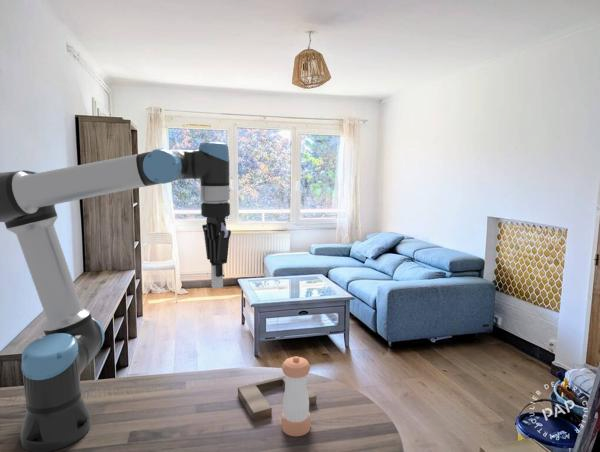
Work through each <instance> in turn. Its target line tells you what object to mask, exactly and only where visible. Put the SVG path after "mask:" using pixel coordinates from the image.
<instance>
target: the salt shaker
mask: <svg viewBox="0 0 600 452" xmlns="http://www.w3.org/2000/svg"><path fill="white" fill-rule="evenodd" d="M281 370H282V373H283V374H284V376H285V389H284V393H283V397H282V398H283V399H282V413H281V431H283V432H284V434H286V435H288V436H290V437H302V436H304V435H306V434H308V433H309V431H310V429H311V412H310V406H309V397H308V391H307V386H308V374H309V373H310V370H311V365H310V362H309V361H308V360H307V359H306V358H304V357H301V356H292V357H288V358H286V359H285V360H284V361H283V363H282V365H281Z"/></svg>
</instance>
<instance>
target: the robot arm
mask: <svg viewBox="0 0 600 452" xmlns="http://www.w3.org/2000/svg"><path fill="white" fill-rule="evenodd" d="M229 154H230V153H229V146H228V144H227V143H225V142H212V141H211V142H200V143H199V147H198V149H168V148H163V147H162V148H157V149H153V150H151V151H147V152H142V153H135V154H130V155H125V156H120V157H115V158H110V159H104V160H100V161H94V162H89V163H83V164H79V165H73V166H68V167H63V168H58V169H57V168H56V169H52V170H47V171H41V172H37V171H33V170H32V171H30V170H25V169H24V170H17V171H5V172H0V223H4V226H5V228H6V230H7V231H9V232H11V233H13V234H15V235H16V238H17V240H18V243H19V246H20V248H21V251H22V254H23V256H24V259H25V262H26V265H27V268H28V270H29V273H30V275H31V276H30V277H31V279H32V282H33V285H34V287H35V290H36V293H37V296H38V298H39V299H38V300H39V301H40V304H41V307H42V310H43V312H44V315H45V318H46V321H45V323H44V325H43V327H42V329H43V333H44V334H45V335H44V336H42V337H41V338H36V339H35V340H33V341H31V342H30V343H29V344H27V346H25V348H24V349H23V351H22V354H21V363H20V365H21V366H20V367H21V368H20V369H21V373H22V380H23V389H24V398H25V405H26V412H25V415H24V420H23V422H22V426H21V429H20V444H21V447H23V449H24V450H26V451H28V452H54V451H57V450H60V449H63V448H65V447H69V446H70V445H73V444H75V443H76V442H78V441H79V440H81V439H82V438H83V437H84V436H85V435H87V433H88V432H89V431H90V429H91V427H92V415H91V412H90V410H89V408H88V407H87V404H86V403H85V400H84V398H83V396H82V390H81V389H82V387H81V374H82V372H83V371H84V370H85V369H86V368H87V366H88V365H90V364H91V361H92V360H93V359H94V358H96V356H97V355H99V353H100V351H101V350H102V349H101V348H102V347H103V344H104V341H105V331H104V328H103V325H102V324H101V323H100V322H99V321H98V320H97V319H95V318H94V317H93V316H92V313H91V312H90V310H88V309H86V308H83V307H82V304H81V301H80V298H79V296H78V293H77V292H78V291H77V290H76V287H75V283H74V280H73V277H72V275H71V272H70V269H69V266H68V263H67V260H66V257H65V255H64V251H63V248H62V246H61V243H60V239H59V236H58V233H57V231H56V228H55V222H56V221H57V219H58V218H59V217H58V213H57V210H56V207H55V206H56V205H57V204H64V203H68V202H72V201H78V200H85V199H88V198H93V197H94V198H95V197H98V196H102V195H103V196H105V195H107V194H114V193H120V192H124V191H129V190H133V189H138V188H145V187H148V186H149V187H150V186H154V185H155V186H156V185H161V184H162V185H163V184H164V185H165V184H169V183H172V182H174V181H177V180H192V179H193V180H197V179H198V180H200V186H199V187H200V200H201V201H202V202H201V204H200V214H201V216H202V217H203V218H206V219H205V220H206V223H205V224H202V226H201V228H202V230H203V236H204V237H203V238H204V244H205V250H206V260H209V263H210V265H211V266H210V271H211V274H210V277H211V288H213V289H218V288H224V273H223V272H224V269H223V266H224V265H225V264H227V262H228V255H229V246H230V245H229V244H230V238H231V235H232V234H231V233H232V231H231V230H230V229H227V222H226V218H228V217H229V216H230V215H231V203H230V202H229V200H231V199H230V192H231V188H230V155H229Z"/></svg>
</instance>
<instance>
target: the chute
mask: <svg viewBox="0 0 600 452" xmlns="http://www.w3.org/2000/svg"><path fill="white" fill-rule="evenodd" d="M278 388H282V389H284V390H285V375H283V376H279V377H276V378H275V377H274V378H271V379H268V380H262V381H259V382H258V381H257V382H254V383H251V384H246V385H241V386H238V387H237V396H238V398H239V399H240V402H242V404H243V406H244V408H245V409H246V412H247V414H249V416H250V418H251V419H252V420H253V422H257V421H261V420H264V419H267V418H268V419H269V418H271V417H272V416H273V415H272V414H273V411H272V406H271V405H270V403H269V402H268V400H267V398H265V396H264V394H262V392H267V391H271V390H275V389H278ZM307 391H308V397H309V407H312V406H314V405H317V394H315V393H314V392H313V390H312V389H310V387H309V386H308V385H307Z"/></svg>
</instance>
